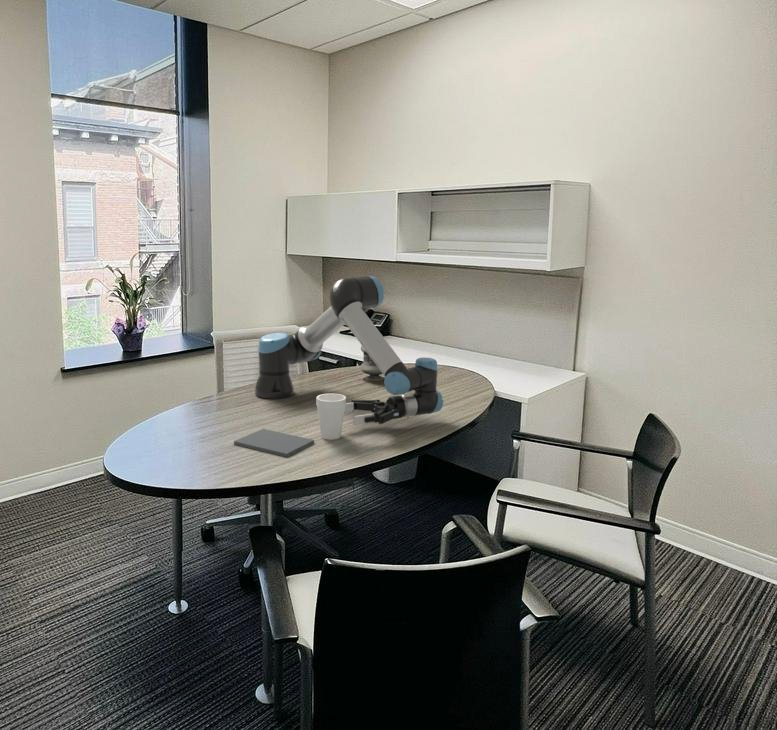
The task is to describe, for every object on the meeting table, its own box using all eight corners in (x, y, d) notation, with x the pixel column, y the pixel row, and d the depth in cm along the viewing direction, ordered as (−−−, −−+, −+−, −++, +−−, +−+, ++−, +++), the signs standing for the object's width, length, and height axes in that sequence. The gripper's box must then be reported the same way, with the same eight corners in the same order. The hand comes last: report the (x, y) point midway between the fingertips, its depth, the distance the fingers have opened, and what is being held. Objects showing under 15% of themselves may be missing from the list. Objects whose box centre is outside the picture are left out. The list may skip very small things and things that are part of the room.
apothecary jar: (355, 378, 280) (356, 337, 276) (380, 375, 286) (381, 336, 282) (367, 384, 270) (368, 342, 266) (392, 382, 275) (393, 341, 271)
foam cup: (345, 441, 201) (345, 401, 198) (315, 441, 201) (316, 401, 198) (345, 431, 211) (345, 393, 208) (316, 431, 210) (317, 393, 207)
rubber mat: (234, 444, 196) (233, 441, 196) (263, 431, 208) (263, 428, 208) (286, 456, 187) (286, 453, 187) (314, 442, 199) (314, 439, 199)
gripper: (420, 427, 207) (362, 437, 196) (382, 407, 228) (328, 415, 217) (421, 405, 205) (363, 414, 195) (382, 387, 226) (328, 393, 216)
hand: (344, 414), depth 206 cm, fingers open, 13 cm apart
